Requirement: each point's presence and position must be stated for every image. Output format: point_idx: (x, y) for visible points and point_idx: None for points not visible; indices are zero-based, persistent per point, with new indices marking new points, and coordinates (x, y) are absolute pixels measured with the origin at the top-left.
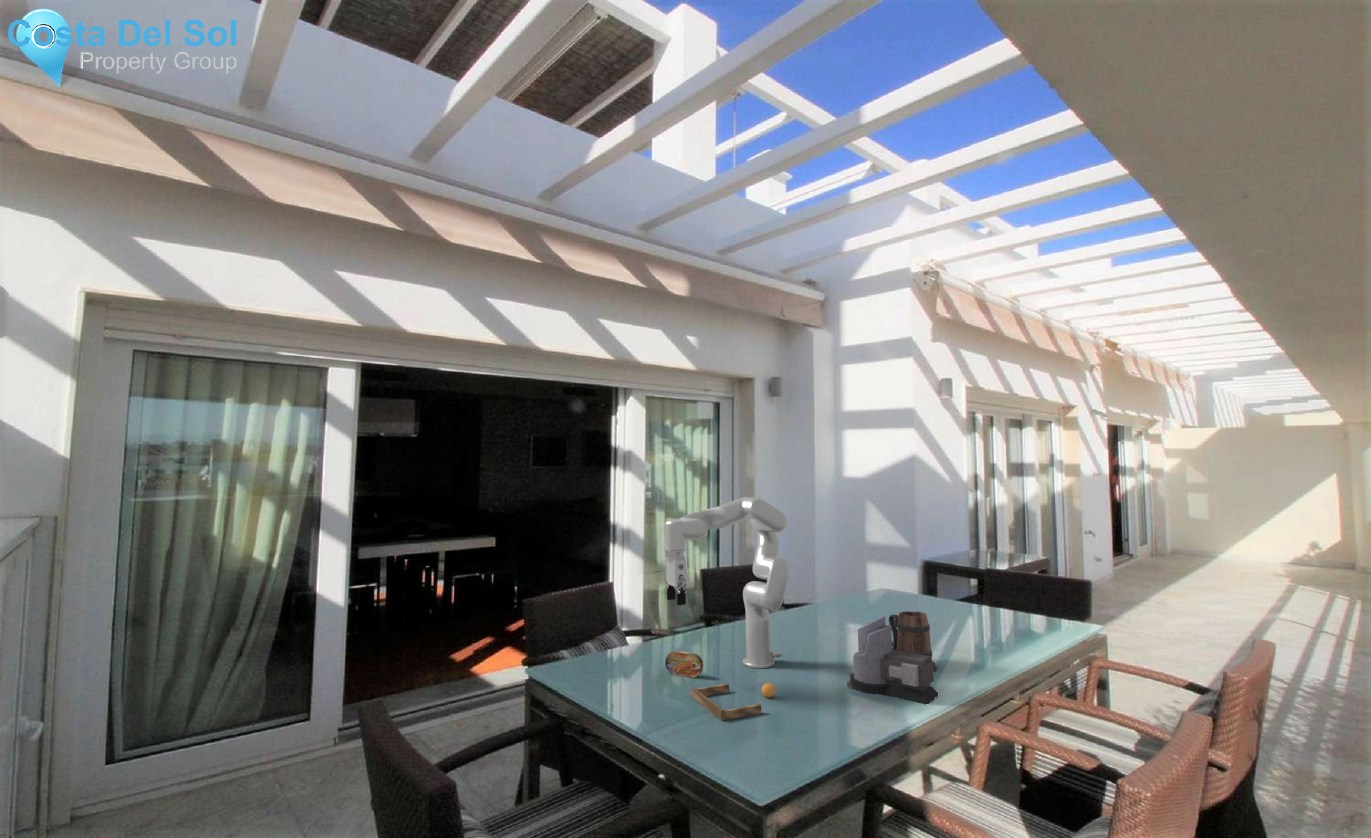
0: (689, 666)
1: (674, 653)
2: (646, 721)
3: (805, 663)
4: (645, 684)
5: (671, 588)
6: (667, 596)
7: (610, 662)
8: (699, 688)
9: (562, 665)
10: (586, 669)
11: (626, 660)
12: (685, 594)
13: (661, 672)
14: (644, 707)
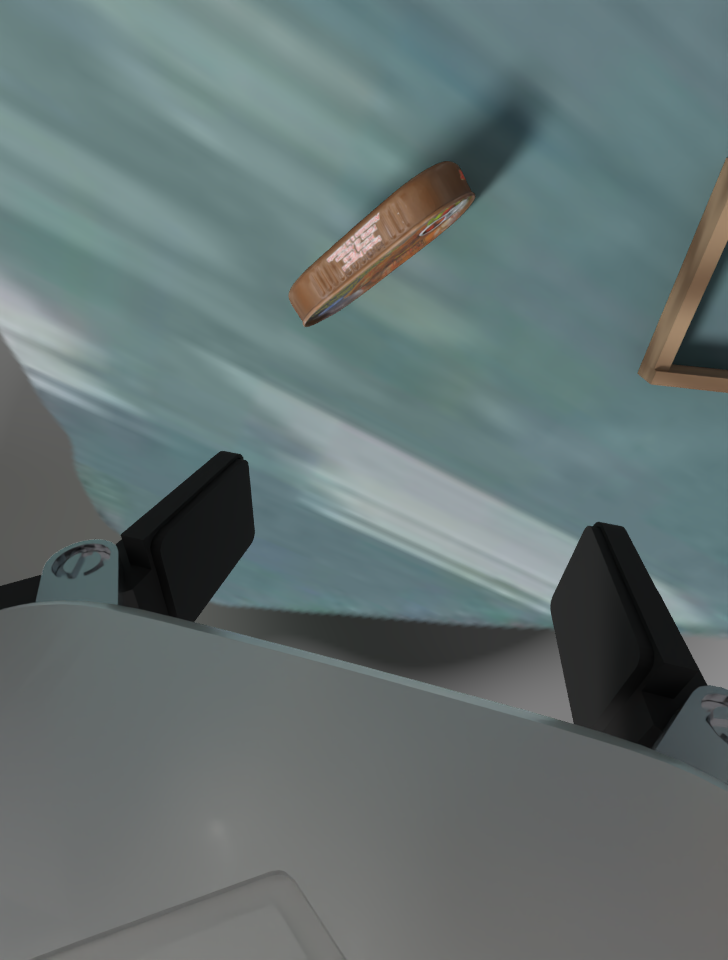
0: (411, 242)
1: (324, 297)
2: (686, 582)
3: None
4: (402, 440)
5: (156, 599)
6: (228, 565)
7: (149, 428)
8: (669, 341)
9: None
10: None
11: (137, 374)
12: (679, 644)
13: None
14: None
